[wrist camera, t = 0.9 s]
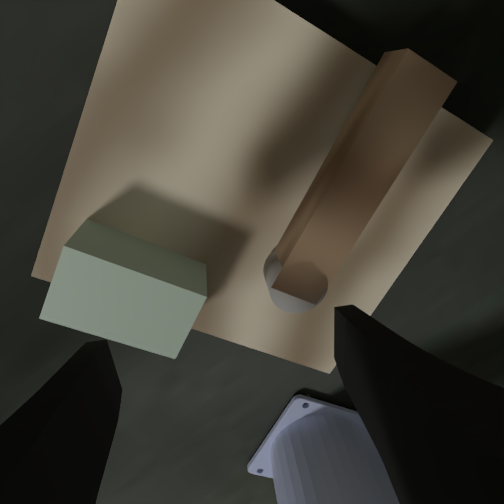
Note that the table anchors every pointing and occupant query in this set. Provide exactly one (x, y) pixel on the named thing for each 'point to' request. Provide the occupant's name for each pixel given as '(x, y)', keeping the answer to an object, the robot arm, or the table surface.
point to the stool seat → (241, 161)
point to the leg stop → (125, 290)
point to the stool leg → (355, 177)
